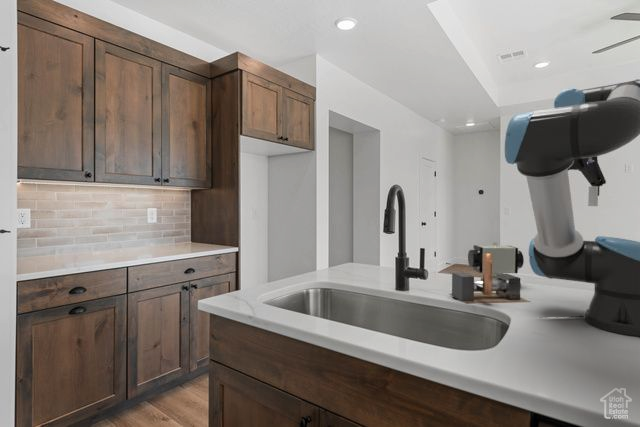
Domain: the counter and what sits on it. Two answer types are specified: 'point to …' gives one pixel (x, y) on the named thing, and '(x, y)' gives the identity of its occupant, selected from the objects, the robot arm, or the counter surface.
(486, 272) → the slip tube
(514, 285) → the clamp
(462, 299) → the dark grey block
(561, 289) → the counter surface
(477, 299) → the board
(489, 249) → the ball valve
